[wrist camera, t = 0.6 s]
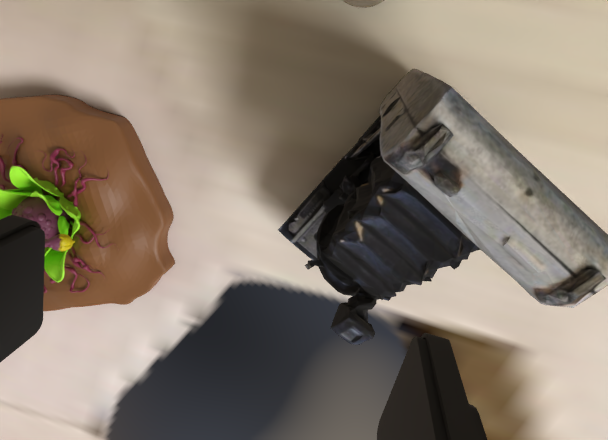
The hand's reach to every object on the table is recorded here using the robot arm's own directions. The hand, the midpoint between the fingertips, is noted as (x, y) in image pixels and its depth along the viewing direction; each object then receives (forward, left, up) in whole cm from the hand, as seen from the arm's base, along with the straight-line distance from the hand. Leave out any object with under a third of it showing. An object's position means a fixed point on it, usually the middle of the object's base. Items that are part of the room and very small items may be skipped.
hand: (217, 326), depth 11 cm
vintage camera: (-3, +6, -26) cm, 27 cm away
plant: (+23, -8, -26) cm, 36 cm away
